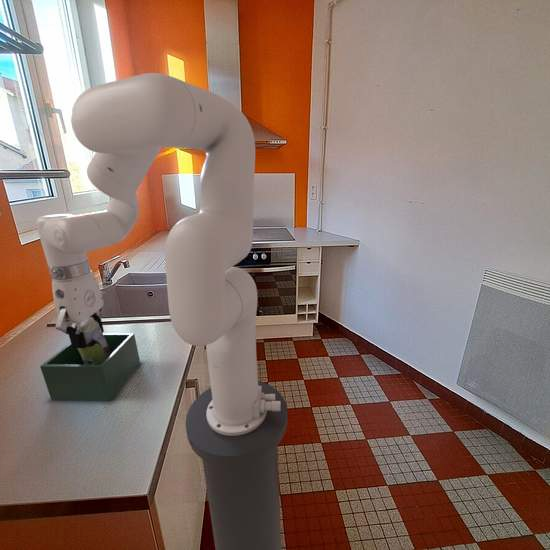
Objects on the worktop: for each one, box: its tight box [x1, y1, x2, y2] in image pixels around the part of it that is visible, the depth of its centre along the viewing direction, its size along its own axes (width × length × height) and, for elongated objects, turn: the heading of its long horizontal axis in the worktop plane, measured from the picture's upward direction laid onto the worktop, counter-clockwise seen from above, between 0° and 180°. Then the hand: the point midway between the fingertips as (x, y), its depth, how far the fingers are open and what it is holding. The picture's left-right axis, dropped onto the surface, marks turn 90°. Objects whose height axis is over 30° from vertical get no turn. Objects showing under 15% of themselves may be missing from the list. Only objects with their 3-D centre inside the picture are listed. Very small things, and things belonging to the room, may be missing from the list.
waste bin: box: [39, 332, 141, 402], centre depth 76 cm, size 15×15×10 cm
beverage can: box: [72, 317, 111, 365], centre depth 74 cm, size 6×7×12 cm
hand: (88, 339), depth 74 cm, fingers closed on beverage can, 6 cm apart
